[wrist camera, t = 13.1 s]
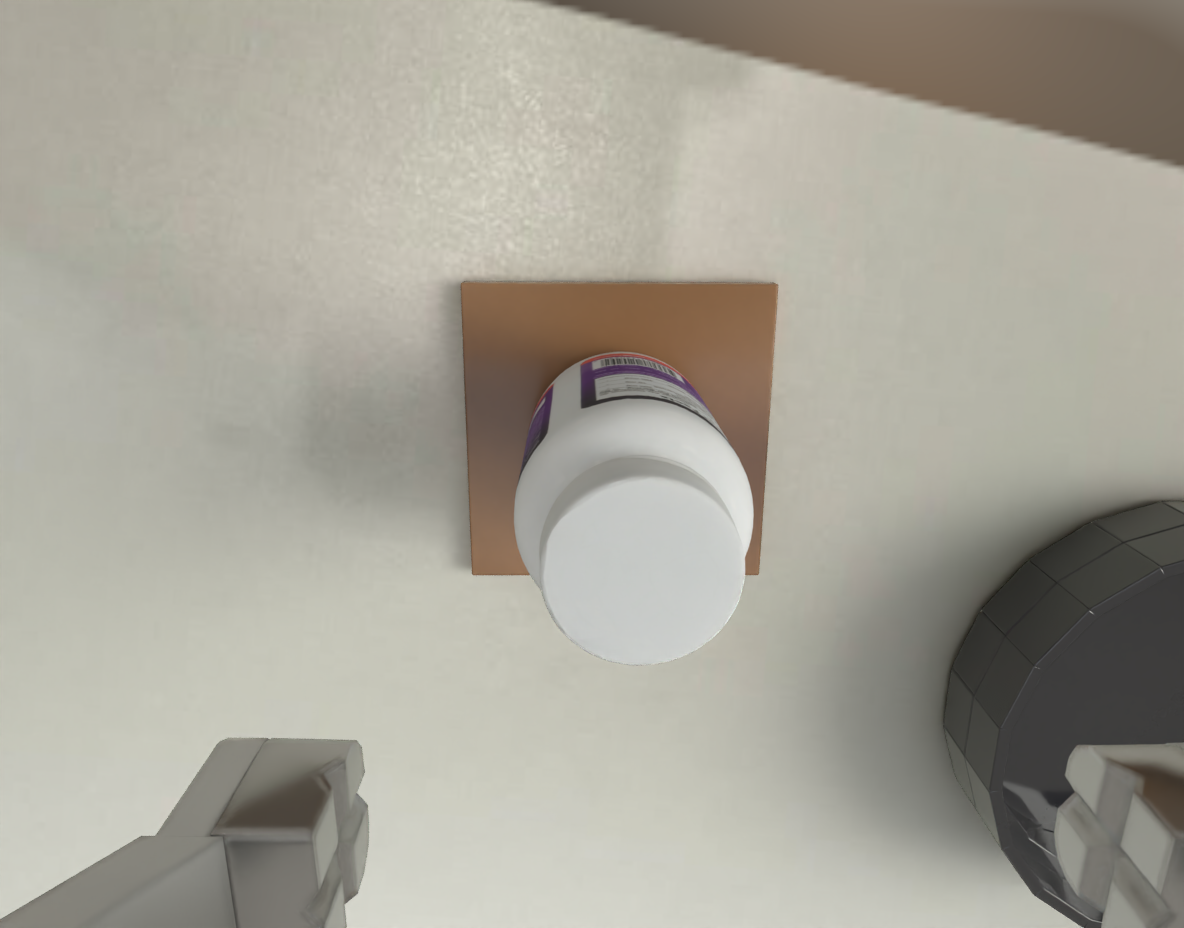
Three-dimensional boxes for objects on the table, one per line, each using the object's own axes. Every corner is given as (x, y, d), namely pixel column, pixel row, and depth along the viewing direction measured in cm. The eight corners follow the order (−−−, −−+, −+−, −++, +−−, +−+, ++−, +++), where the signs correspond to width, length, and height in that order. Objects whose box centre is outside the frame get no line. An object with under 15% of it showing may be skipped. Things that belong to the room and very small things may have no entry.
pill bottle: (603, 555, 27) (615, 746, 18) (492, 423, 26) (441, 554, 16) (746, 452, 26) (838, 596, 17) (638, 309, 25) (671, 380, 15)
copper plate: (462, 281, 25) (460, 283, 24) (774, 282, 25) (778, 284, 25) (473, 569, 28) (472, 575, 27) (756, 568, 28) (758, 575, 27)
